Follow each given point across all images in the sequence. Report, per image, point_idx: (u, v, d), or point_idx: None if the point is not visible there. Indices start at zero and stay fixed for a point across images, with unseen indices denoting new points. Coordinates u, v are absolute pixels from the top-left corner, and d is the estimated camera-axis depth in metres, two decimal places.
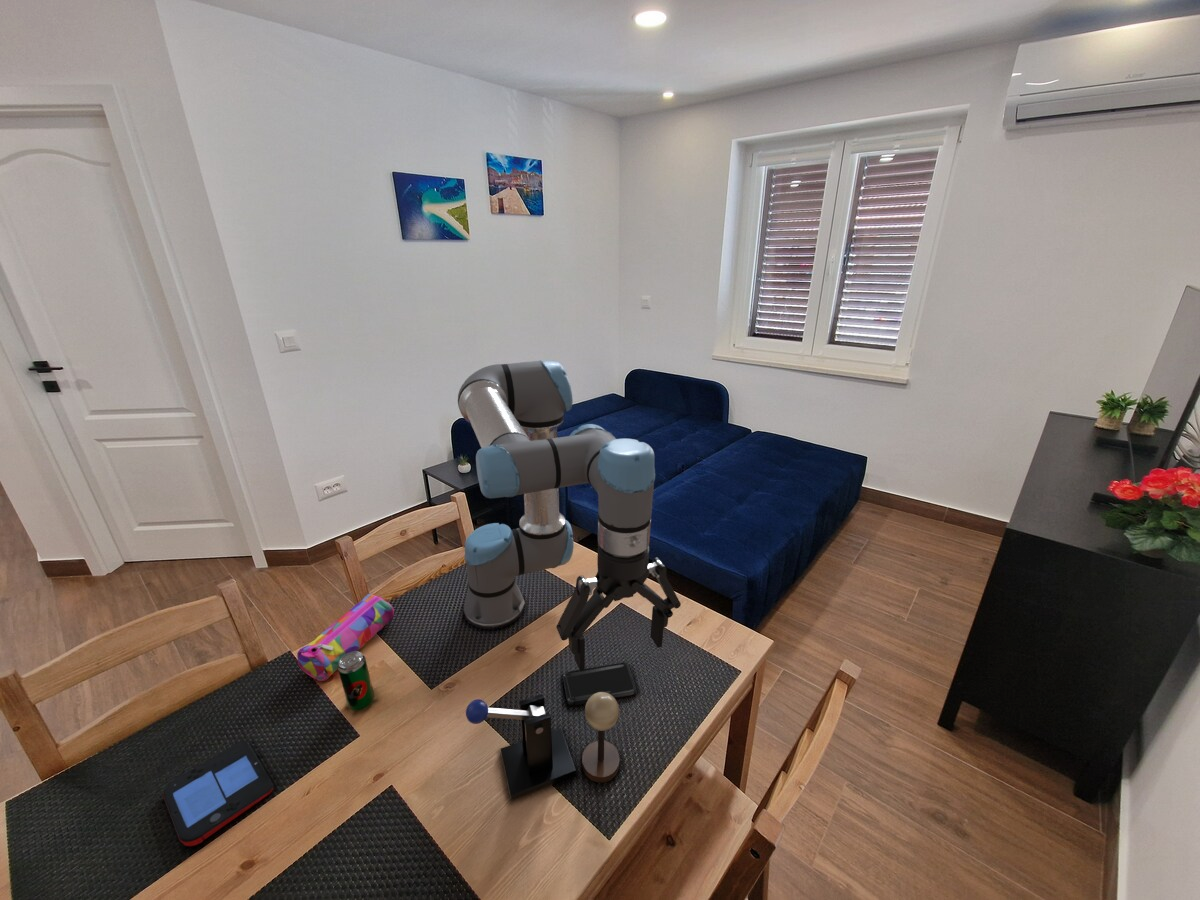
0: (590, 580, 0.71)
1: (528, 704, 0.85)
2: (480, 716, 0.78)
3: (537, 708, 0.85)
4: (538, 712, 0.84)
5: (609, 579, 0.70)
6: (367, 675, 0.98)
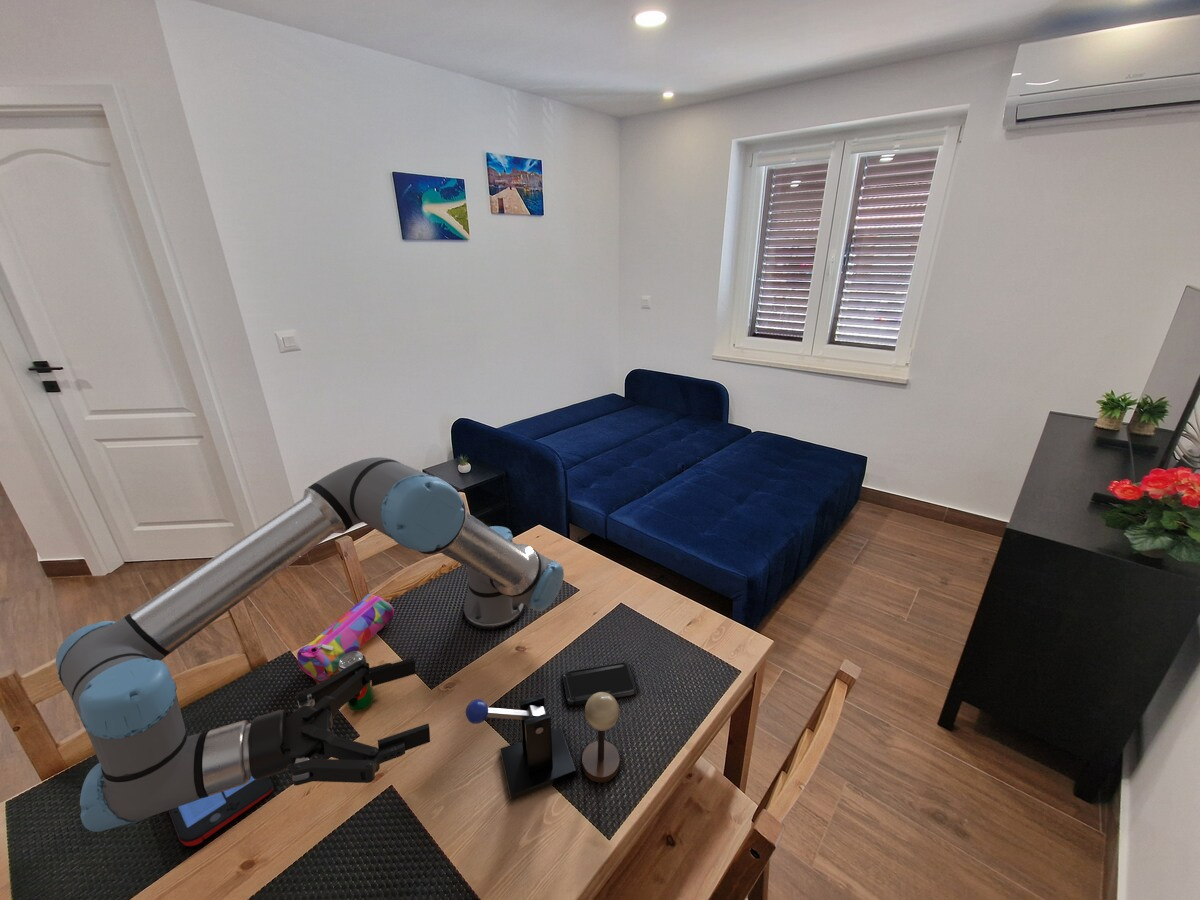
0: (298, 707, 0.70)
1: (528, 704, 0.85)
2: (480, 716, 0.78)
3: (537, 708, 0.85)
4: (538, 712, 0.84)
5: None
6: None
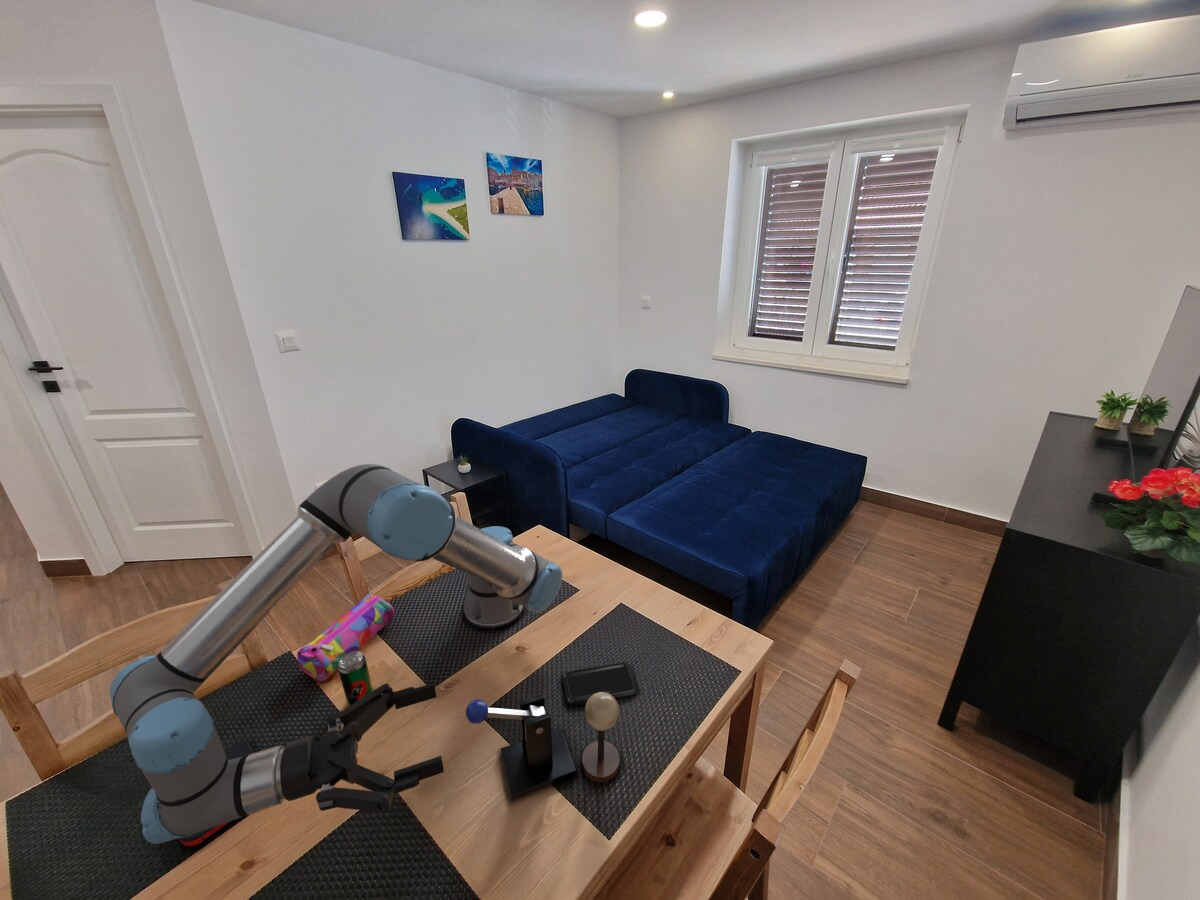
0: None
1: (528, 704, 0.85)
2: (480, 716, 0.78)
3: (537, 708, 0.85)
4: (538, 712, 0.84)
5: None
6: (367, 675, 0.98)
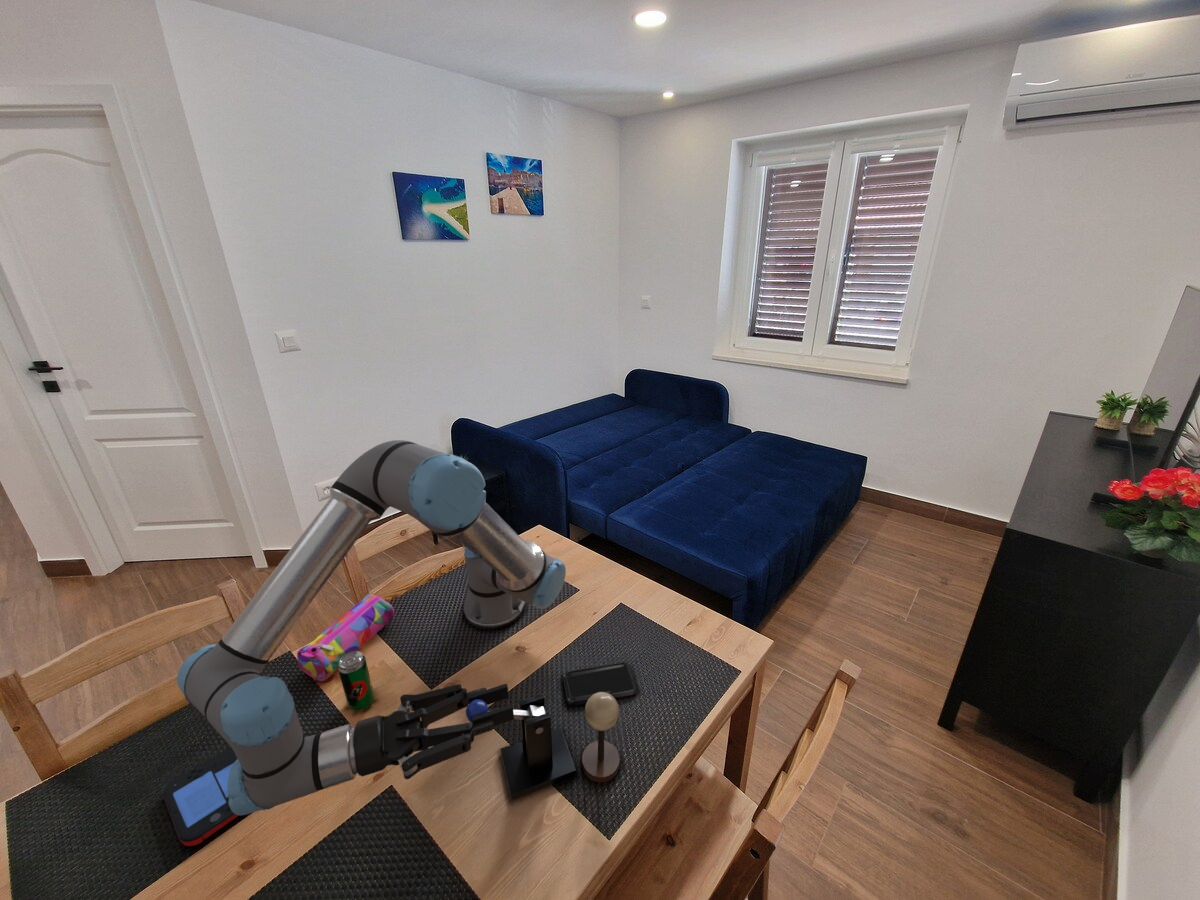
0: None
1: (528, 704, 0.85)
2: None
3: (537, 708, 0.85)
4: (538, 712, 0.84)
5: None
6: (367, 675, 0.98)
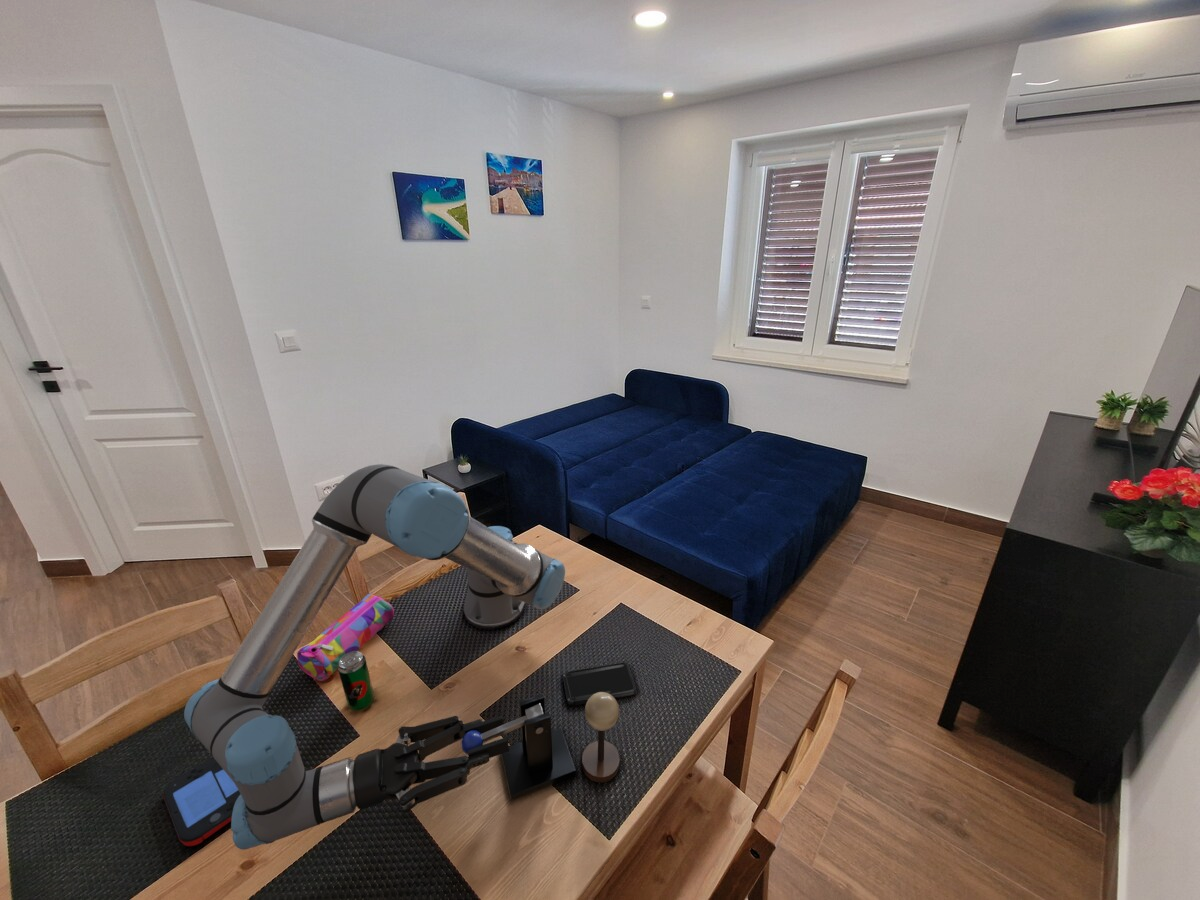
0: None
1: (528, 704, 0.85)
2: None
3: (532, 709, 0.85)
4: (534, 712, 0.84)
5: None
6: (367, 675, 0.98)
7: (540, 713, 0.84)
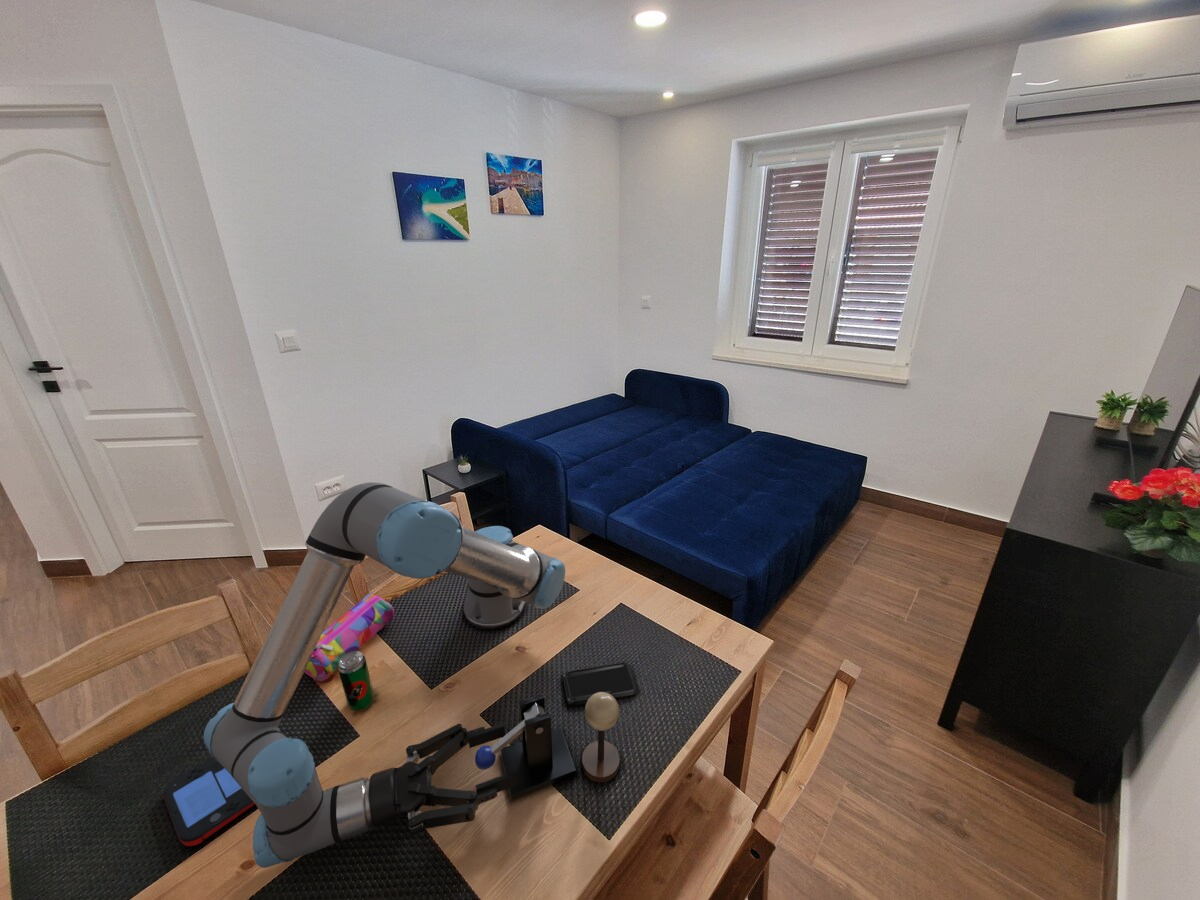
0: (407, 759, 0.85)
1: (528, 704, 0.85)
2: (483, 765, 0.82)
3: (530, 711, 0.84)
4: (531, 714, 0.84)
5: None
6: (367, 675, 0.98)
7: (536, 713, 0.83)
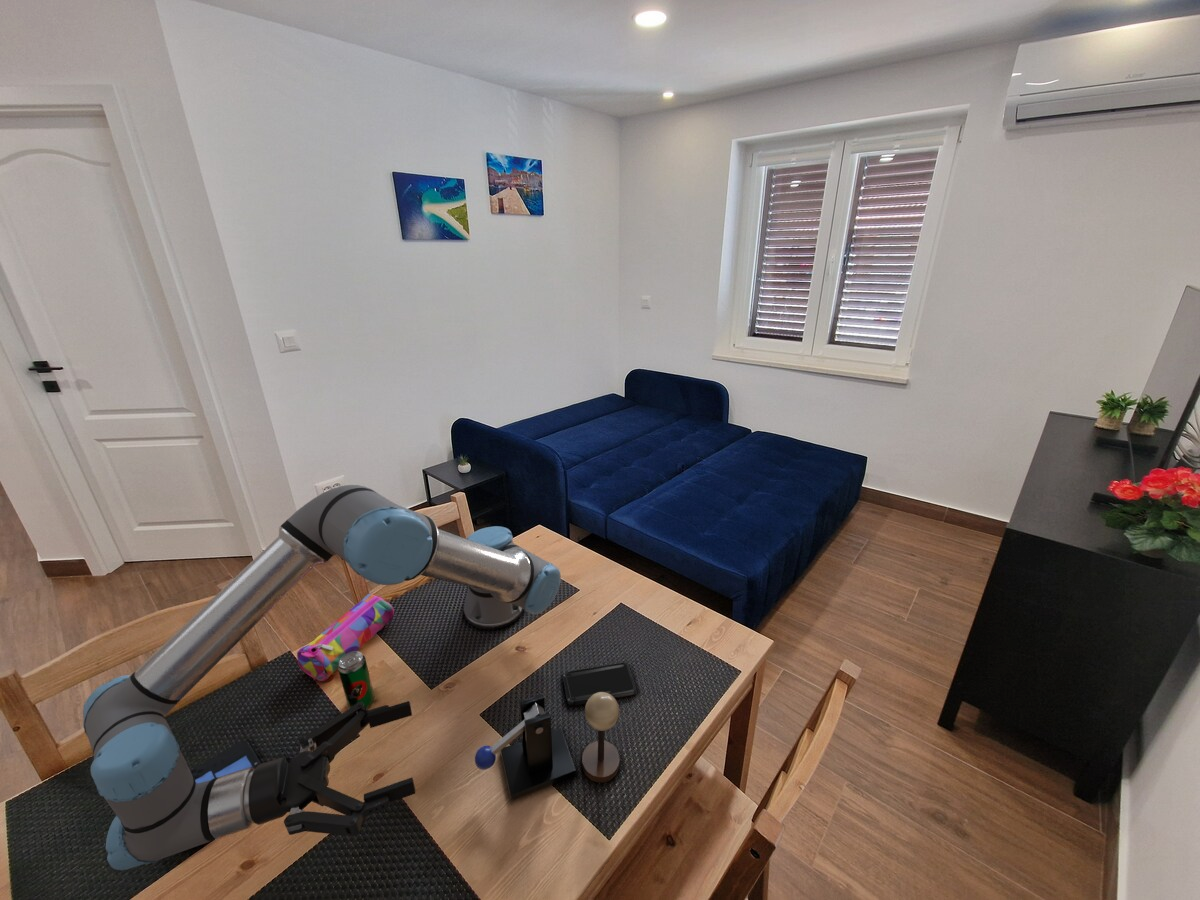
0: (301, 750, 0.76)
1: (528, 704, 0.85)
2: (483, 765, 0.82)
3: (530, 711, 0.84)
4: (531, 714, 0.84)
5: None
6: (367, 675, 0.98)
7: (536, 713, 0.83)
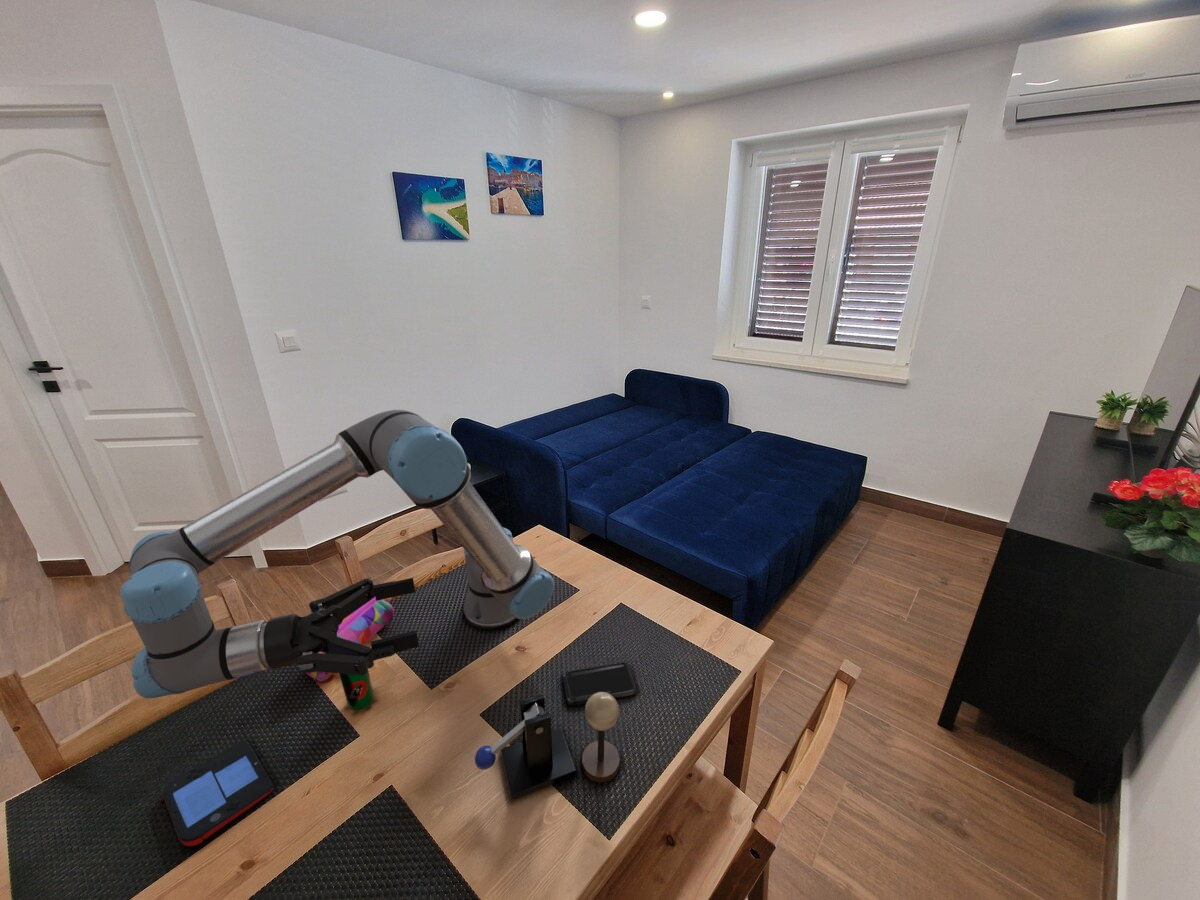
0: None
1: (528, 704, 0.85)
2: (483, 765, 0.82)
3: (530, 711, 0.84)
4: (531, 714, 0.84)
5: None
6: (367, 675, 0.98)
7: (536, 713, 0.83)
